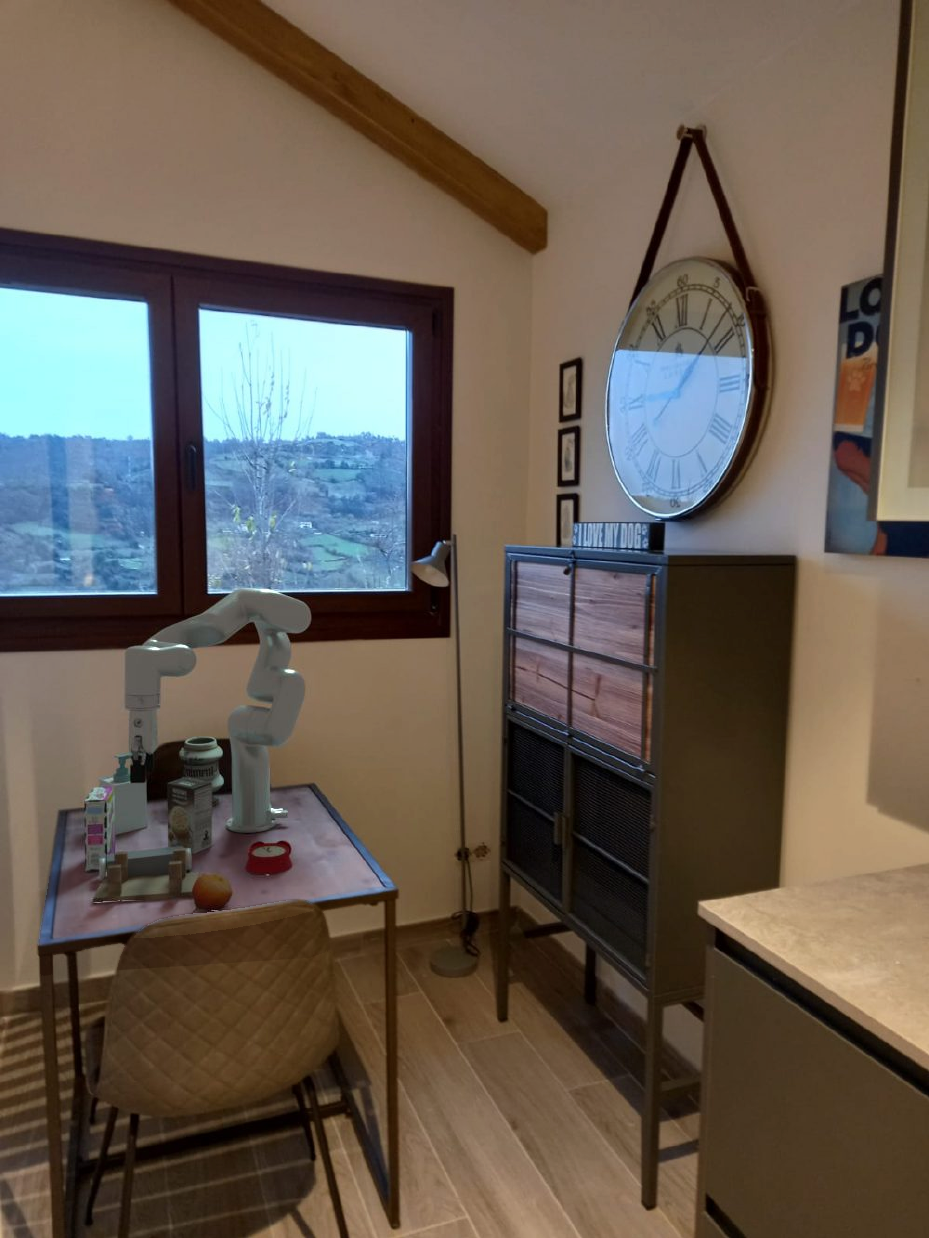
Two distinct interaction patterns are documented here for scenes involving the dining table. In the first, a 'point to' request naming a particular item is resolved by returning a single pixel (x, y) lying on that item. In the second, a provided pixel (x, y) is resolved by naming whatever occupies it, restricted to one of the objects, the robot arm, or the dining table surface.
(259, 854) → the alarm clock
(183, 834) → the coffee box
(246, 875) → the dining table surface
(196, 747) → the apothecary jar
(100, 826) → the candy bar box
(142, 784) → the soap bottle
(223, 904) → the fruit
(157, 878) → the rack
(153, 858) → the power strip
